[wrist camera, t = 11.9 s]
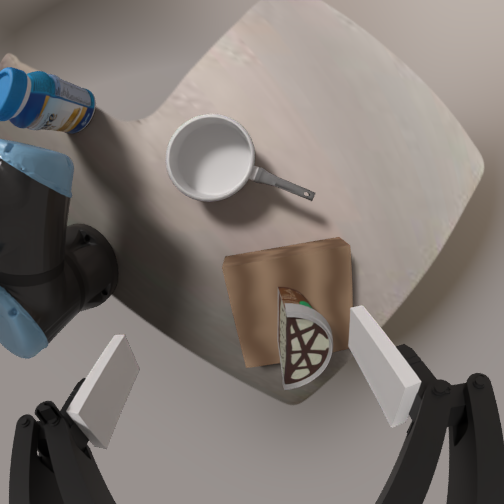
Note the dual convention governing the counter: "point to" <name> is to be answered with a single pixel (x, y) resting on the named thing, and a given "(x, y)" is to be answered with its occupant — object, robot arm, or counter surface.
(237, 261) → the walnut base
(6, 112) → the beverage bottle
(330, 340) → the food container
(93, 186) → the counter surface
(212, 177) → the saucepan
